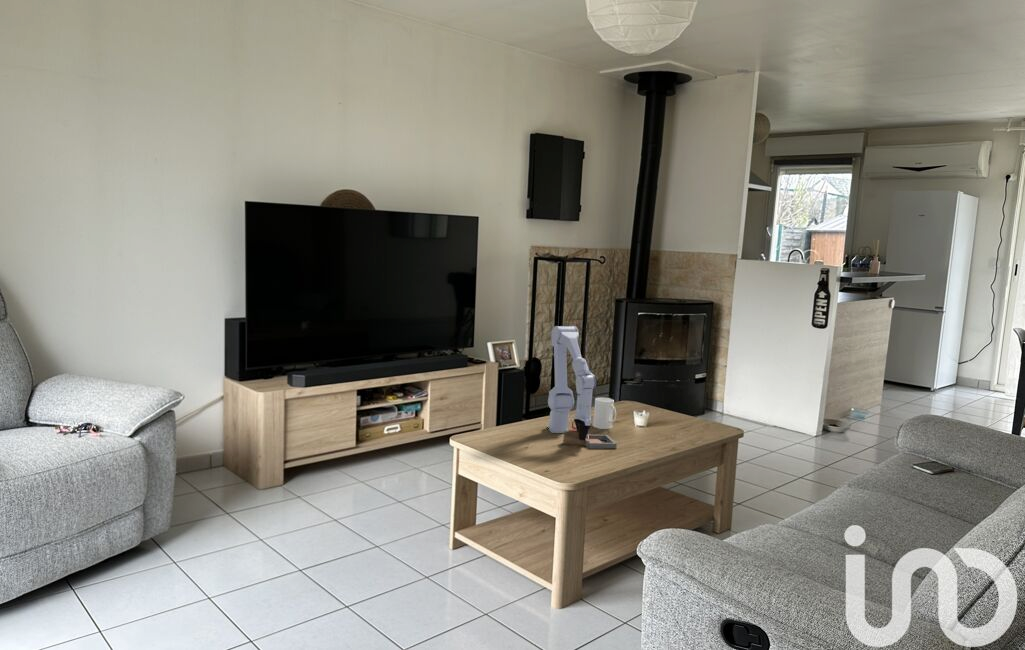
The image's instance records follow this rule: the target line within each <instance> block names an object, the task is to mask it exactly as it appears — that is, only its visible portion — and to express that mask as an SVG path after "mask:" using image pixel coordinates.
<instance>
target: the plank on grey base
mask: <svg viewBox="0 0 1025 650" xmlns="http://www.w3.org/2000/svg"><path fill="white" fill-rule="evenodd" d="M562 443H563V444H564V445H576V446H577V444H578V445H580V444H581V445H580V446H585V447H586V448H589V440H588V439H587V438H586V439H585V440H580V438H579V431H578V430H573V429H572V430H571V429H568V430H564V433H563V441H562Z"/></svg>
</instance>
